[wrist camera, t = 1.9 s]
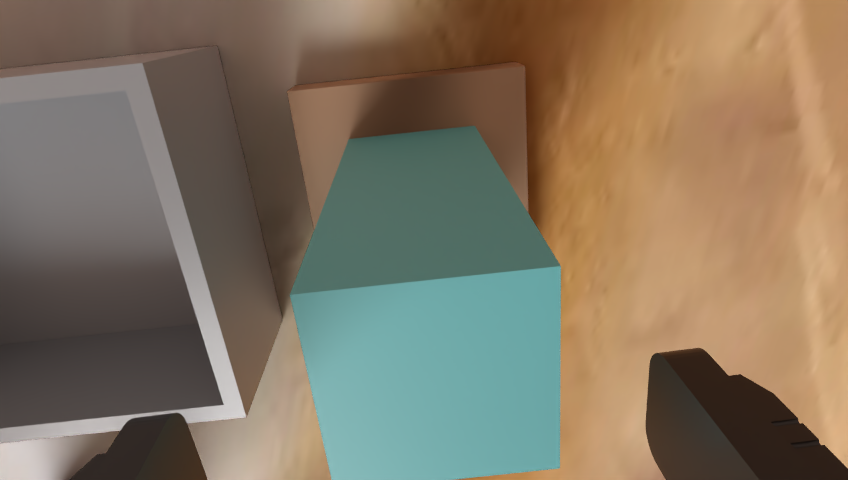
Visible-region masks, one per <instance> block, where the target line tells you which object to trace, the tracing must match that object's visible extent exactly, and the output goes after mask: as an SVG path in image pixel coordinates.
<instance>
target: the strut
mask: <svg viewBox="0 0 848 480" xmlns="http://www.w3.org/2000/svg"><path fill="white" fill-rule="evenodd" d="M290 298H291V302H292V307H293V311H294V315H295V320H296V324H297V329H298V333H299V338H300V342H301V346H302V351H303V355H304V360H305V364H306V368H307V373H308V377H309V382H310V386H311V391H312V395H313V399H314V404H315V408H316V413H317V417H318V422H319V426H320V430H321V435H322V439H323V444H324V448H325V452H326V457H327V461H328V466H329V470H330V475H331V479H332V480H453V479H463V478H472V477H482V476H491V475H501V474H510V473H520V472H529V471H539V470H548V469H558V468H560V309H561V266H560V264H559V263H558V261H557V259H556V258H555V256H554V254H553V253H552V251H551V249H550V248H549V246H548V245H547V243H546V241H545V240H544V238H543V236H542V235H541V233H540V231H539V230H538V228H537V227H536V225H535V223H534V222H533V220H532V218H531V217H530V215H529V214H528V212H527V210H526V209H525V207H524V205H523V204H522V202H521V200H520V199H519V197H518V196H517V194H516V192H515V191H514V189H513V187H512V186H511V184H510V182H509V181H508V179H507V178H506V176H505V174H504V173H503V171H502V169H501V168H500V166H499V164H498V163H497V161H496V160H495V158H494V156H493V155H492V153H491V151H490V150H489V148H488V146H487V145H486V143H485V142H484V140H483V138H482V137H481V135H480V133H479V132H478V130H477V128H476V127H475V126H467V127H457V128H448V129H438V130H429V131H420V132H410V133H401V134H392V135H382V136H373V137H363V138H354V139H349V140H348V142H347V145H346V148H345V150H344V153H343V156H342V158H341V161H340V164H339V166H338V169H337V171H336V174H335V177H334V179H333V182H332V185H331V187H330V190H329V193H328V195H327V198H326V201H325V203H324V206H323V208H322V211H321V214H320V216H319V219H318V222H317V224H316V227H315V230H314V232H313V235H312V238H311V240H310V243H309V245H308V248H307V251H306V253H305V256H304V259H303V261H302V264H301V267H300V269H299V272H298V275H297V277H296V280H295V283H294V285H293V288H292V290H291V293H290Z"/></svg>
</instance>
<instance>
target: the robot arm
mask: <svg viewBox="0 0 848 480" xmlns="http://www.w3.org/2000/svg"><path fill="white" fill-rule="evenodd" d="M646 434H647V439H648V443H649V447H650V450H651V453H652V455H653V457H654V460H655V462H656V463H657V465H658V467H659V469H660V470H661V472H662V474H663V476H664V477H665V479H666V480H848V468H847V467H846V466H845V465H844V464H843V463H842V462H841V461H840V460H839V459H838V458H837V457H836V456H835V455H834V454H833V453H832V452H831V451H830V450H829V449H828V448H827V447H826V446H825V445H820V443H819V439H818V438H817V437H816V436H815V435H814V434H813V433H812V432H811V431H810V430H809V429H808V428H807V427H806V426H805V425H804V424H803V423H802V424H800V423H799V422H798V418H797V417H796V416H795V415H794V414H793V413H792V412H791V411H790V410H789V409H788V408H787V407H786V406H785V405H784V404H783V403H782V402H781V401H780V400H779V399H778V398H777V397H776V396H775V395H774V394H773V393H772V392H770V391H768V390H766V389H765V388H763V387H761V386H760V385H758V384H756V383H754V382H753V381H751V380H749V379H747V378H746V377H744V376H742V375H741V374H740V375H732V376H728V375H727V374H726V373H725V371H724V370H723V369H722V368H721V367H720V366H719V365H718V364H717V363H716V362H715V361H714V359H713V358H712V357H711V356H710V355H709V354H708V353H707V352H706V351H705V350H703V349H701V348H694V349H686V350H678V351H670V352H662V353H655V354H654V355H653V356H652V358H651V360H650V368H649V382H648V396H647V411H646ZM70 480H207V477H206V474H205V471H204V469H203V466H202V463H201V460H200V458H199V455H198V452H197V449H196V447H195V444H194V441H193V439H192V436H191V433H190V430H189V428H188V425H187V422H186V420H185V418H184V417H183V416H182V415H181V414H180V413H170V414H162V415H154V416H146V417H138V418H132V419H130V420H128V421H127V422H126V423H125V425H124V426H123V428H122V429H121V431H120V432H119V434H118V436H117V437H116V439H115V440H114V442H113V443H112V445H111V447H110V448H109V450H108V451H107V453H106V454H99V455H96V456H95V457H94V458H93V459H92V460H91V461H90V462H88V463H87V464H86V465H85V466H84V467H83V468H82V469H81V470H80V471H78V472H77V473H76V474H75V475H74V476H73V477H72V478H71V479H70Z"/></svg>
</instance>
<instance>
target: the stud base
mask: <svg viewBox="0 0 848 480" xmlns="http://www.w3.org/2000/svg"><path fill="white" fill-rule="evenodd" d="M287 95H288V100H289V105H290V110H291V115H292V120H293V125H294V131H295V136H296V141H297V146H298V151H299V156H300V161H301V166H302V172H303V177H304V182H305V187H306V192H307V197H308V202H309V207H310V213H311V218H312V223H313V228H314V230H315V227H316V224H317V222H318V219H319V216H320V214H321V211H322V208H323V206H324V203H325V201H326V198H327V195H328V193H329V190H330V187H331V185H332V182H333V179H334V177H335V174H336V171H337V169H338V166H339V164H340V161H341V158H342V156H343V153H344V150H345V148H346V145H347V142H348V140H349V139H354V138H363V137H373V136H382V135H392V134H401V133H410V132H420V131H429V130H438V129H448V128H457V127H467V126H475V127H476V128H477V130H478V132H479V133H480V135H481V137H482V138H483V140H484V142H485V143H486V145H487V146H488V148H489V150H490V151H491V153H492V155H493V156H494V158H495V160H496V161H497V163H498V164H499V166H500V168H501V169H502V171H503V173H504V174H505V176H506V178H507V179H508V181H509V182H510V184H511V186H512V187H513V189H514V191H515V192H516V194H517V196H518V197H519V199H520V200H521V202H522V204H523V205H524V207H525V209H526V210H527V212H528V174H527V128H526V82H525V66H524V65H522V64H520V63H518V62H510V63H500V64H491V65H482V66H472V67H463V68H454V69H444V70H435V71H426V72H416V73H407V74H398V75H388V76H379V77H370V78H360V79H351V80H341V81H332V82H323V83H313V84H304V85H295V86H294V87H292V88H291V89H290V90H288V91H287Z"/></svg>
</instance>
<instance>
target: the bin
mask: <svg viewBox="0 0 848 480" xmlns="http://www.w3.org/2000/svg"><path fill="white" fill-rule="evenodd" d="M281 323H282V316H281V311H280V307H279V303H278V299H277V294H276V290H275V286H274V282H273V278H272V273H271V269H270V265H269V261H268V257H267V252H266V248H265V244H264V240H263V236H262V231H261V227H260V223H259V219H258V214H257V210H256V206H255V202H254V198H253V193H252V189H251V185H250V181H249V177H248V172H247V168H246V164H245V160H244V156H243V151H242V147H241V143H240V139H239V134H238V130H237V126H236V122H235V118H234V113H233V109H232V105H231V101H230V97H229V92H228V88H227V84H226V80H225V76H224V71H223V67H222V63H221V59H220V54H219V50H218V46H209V47H200V48H191V49H181V50H172V51H163V52H153V53H144V54H135V55H125V56H116V57H107V58H97V59H88V60H79V61H69V62H60V63H51V64H41V65H32V66H23V67H13V68H4V69H0V443H8V442H18V441H27V440H37V439H46V438H56V437H65V436H75V435H84V434H93V433H103V432H112V431H121V429H122V428H123V426H124V425H125V423H126V422H127V421H128V420H130V419H132V418H138V417H146V416H154V415H162V414H170V413H180V414H181V415H182V416H183V417H184V418H185V420H186V422H187V424H188V423H198V422H207V421H217V420H226V419H235V418H245V417H247V414H248V412H249V409H250V406H251V404H252V401H253V398H254V396H255V393H256V390H257V387H258V385H259V382H260V379H261V377H262V374H263V371H264V369H265V366H266V363H267V361H268V358H269V355H270V352H271V350H272V347H273V344H274V342H275V339H276V336H277V334H278V331H279V328H280V325H281Z"/></svg>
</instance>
